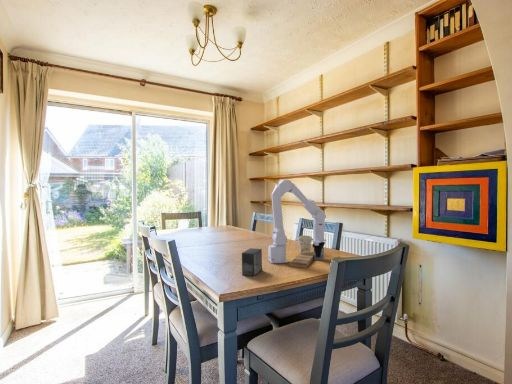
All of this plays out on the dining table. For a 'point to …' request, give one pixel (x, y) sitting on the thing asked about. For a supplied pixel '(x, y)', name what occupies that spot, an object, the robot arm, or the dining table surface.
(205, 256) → the dining table surface
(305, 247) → the mug
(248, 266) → the small box
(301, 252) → the gauge
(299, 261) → the board
